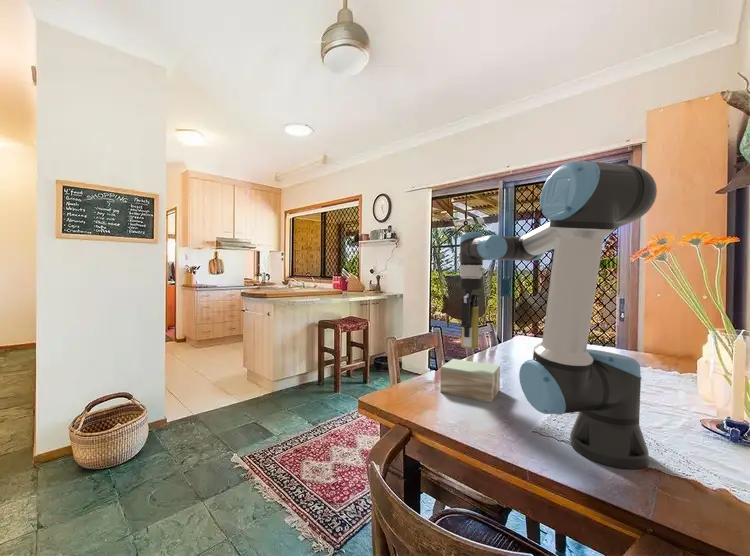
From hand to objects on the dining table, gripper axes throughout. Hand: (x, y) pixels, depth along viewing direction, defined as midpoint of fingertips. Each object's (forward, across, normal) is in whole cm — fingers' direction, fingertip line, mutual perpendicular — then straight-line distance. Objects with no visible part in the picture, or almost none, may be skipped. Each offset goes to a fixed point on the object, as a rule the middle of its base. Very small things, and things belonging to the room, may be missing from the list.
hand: (470, 344), depth 118 cm
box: (+17, +1, 0) cm, 17 cm away
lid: (+9, +1, 0) cm, 9 cm away
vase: (+1, 0, 0) cm, 1 cm away
